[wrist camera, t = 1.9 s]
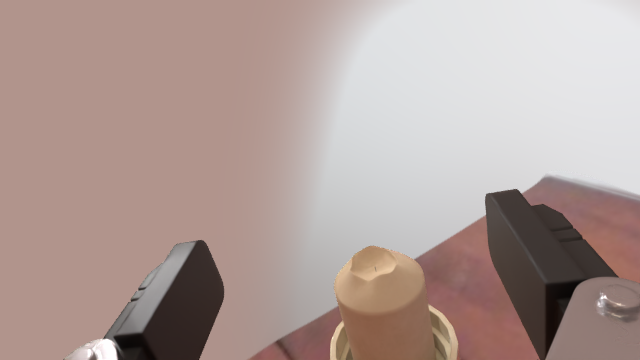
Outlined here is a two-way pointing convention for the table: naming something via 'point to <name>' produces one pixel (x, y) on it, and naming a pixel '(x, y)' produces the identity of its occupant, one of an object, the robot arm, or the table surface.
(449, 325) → the bowl
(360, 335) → the candle
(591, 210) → the table surface
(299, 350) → the table surface
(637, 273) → the table surface
